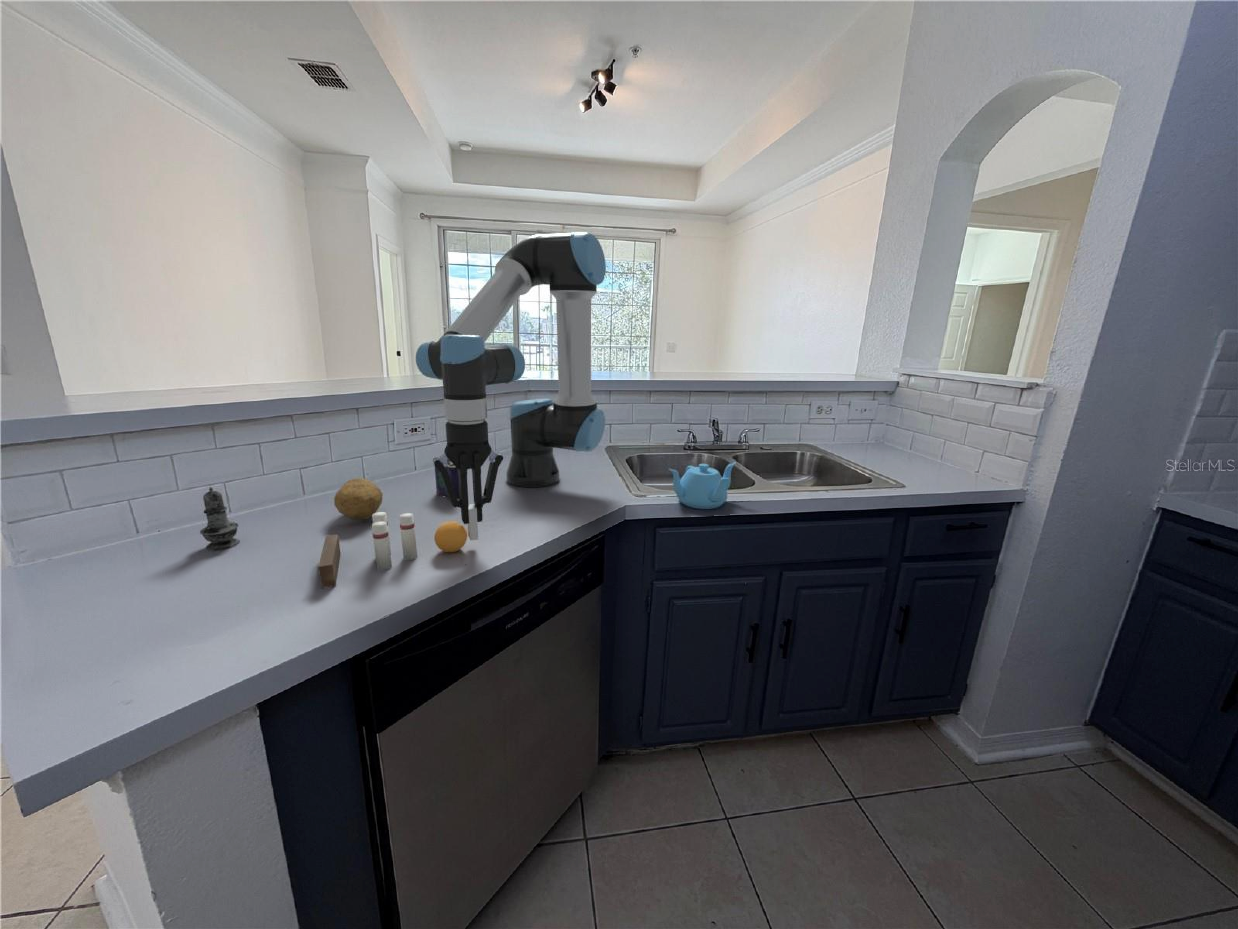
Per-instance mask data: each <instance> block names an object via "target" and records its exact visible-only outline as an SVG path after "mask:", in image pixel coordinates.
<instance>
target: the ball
mask: <svg viewBox="0 0 1238 929" xmlns="http://www.w3.org/2000/svg"><path fill="white" fill-rule="evenodd" d="M467 538H468V531H467V530H466V528H465V527H464V525H462V524H461V523H459V522H457V521H454V520H452V521H450V520H449V521H446V522H443V523H441V524H440V525H438V527H437V529H436V530H435V533H434V542H435V545H436V546H437V548H438V549H439V550H441V551H442V552H446V553H455V552H458V551H459V550H461V549H462V548H463V547H464V546H465V544H466V543H467Z"/></svg>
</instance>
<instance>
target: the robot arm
mask: <svg viewBox="0 0 1238 929" xmlns="http://www.w3.org/2000/svg"><path fill="white" fill-rule="evenodd" d="M606 265H607V264H606V258H605V254H604V250H603V247H602V245H601V243H600V241H599V239H598V238H597V237H596V236H595V235H594V234H592V233H591V232H584V231H583V232H582V231H572V232H560V233H559V232H558V233H538V234H535V235H534V234H533V235H530V236H528V237H526V238H524V239H522V240H521V241H520V242H518V243H516V244H515V245H514V246H513V247H511V248H509V250H508V251H507V252H505V254H504V255H502V257H500V259H499V260H498V261H497V263H496V264H495V267H494V273H493V275H492V276H491V277H490V278H489V279H488V281H486V283H485V284H484V285H483V286H482V287H481V289H480V290H479V291H478V292H477V293H476V295H475V296H474V297H473V298H472V300H471V301H470V302H469V304H467V306H466V307H465V308H464V309H463V310H462V312H461V313H460V314H459V315H458V316H457V317H456V319H455V320H454V322H453V323H451V325H450V326H449V327H448V329H447V330H446V331H445V332H444V334H442V336H441V337H440V338H439V339H438V340H437V341H434V340H433V341H429V342H428V341H427V342H424V343H422V344H420V345H419V346H418V348H417V349H416V350H417V351H416V353H415V364H416V366H417V369H418V371H419V372H420V373H421V375H423V376H424V377H426V378H431V379H435V380H439V381H440V380H441V381H442V388H443V389H442V390H443V404H444V418H445V419H446V423H445V436H446V437H445V438H446V446H445V448H444V452H443V453H442V454H441V455H440V456H438V457H434V458H433V459H432V463H433V465H435V466H436V468H437V469H438V470H439V471H440V473H441V475H442V478H443V481H444V484H445V487H446V490H447V493H448V496H449V498H450V499H449V502H450V503H451V505H452V507H454V508H460V513H461V515H460V516H461V517H460V518H461V521H462V523H463V525H467V537H468V538H469V540H470V541H477V540H479V529H478V527H479V525H478V523H480V522H483V519H484V518H483V516H484V515H483V507H484V505H486V504H489V503H492V500H493V496H494V490H495V485H496V480H497V475H498V470H499V467H500V466H501V463H503V460H504V456H503V455H502V454H501V453H500V452H496V451H494V450H492V446H491V445H490V442H489V428H488V426H489V425H488V422H487V421H486V419H487V418H488V406H487V386H490V385H491V386H492V385H500V384H510V383H512V382H516V381H518V380H519V379H521V378H522V376H523V374H524V372H525V370H526V360H525V356H524V354H523V353H522V351H521V350H519V348H518V347H516V346H514V345H507V344H498V345H497V344H496V345H495V344H485V343H486V341H487V340H488V338H489V337H490V336H491V335H492V333H493V332H494V330H495V329H496V328H497V327H498V326H499V324H500V322H502V321H503V319H504V317H505V316H506V315H507V313H508V312H509V311H510V310H511V308H512V307H513V306H514V304H515V303H516V301H517V300H518V299H519V298H520V296H523V295H526V294H527V293H529V292H530V290H531V289H532V288H533V287H536V286H541V285H542V286H543V285H546V286H549V293H550V294H551V295H552V296H553V297H554V299H555V300H556V303H555V304H556V306H555V307H556V308H555V310H556V336H557V338H556V339H557V340H556V342H557V347H556V348H557V373H558V374H557V376H558V378H557V379H558V380H557V381H558V395H557V396H556V397H555V399H551V398H536V399H535V398H534V399H528V400H527V399H526V400H520V401H516V402H514V403H512V404H511V406H510V415H509V420H510V437H511V438H510V439H511V440H510V442H511V457H510V459H509V463H508V467H507V470H506V473H505V474H506V476H505V477H506V482H507V483H508V484H509V485H511V486H515V487H520V488H521V487H522V488H541V487H547V486H551V485H554V484H557V483H558V482H559V481H560V470H559V466H558V463H557V461H556V458H555V454H554V449H560V450H561V449H562V450H569V451H575V452H592V451H594V450H595V449H596V448H597V447H598V446H599V444H600V442H601V441H602V438H603V435H604V432H605V428H606V415H605V412H604V411H603V410H602V409H601V408H598V401H597V399H596V398H595V397H594V396H593V395H592V338H591V337H592V335H591V334H592V330H591V329H592V328H591V327H592V325H591V320H592V316H591V314H592V312H591V310H592V309H591V308H592V307H591V306H592V305H591V303H592V302H591V301H592V298H593V297H595V295H596V294H597V292H598V290H597V289H598V287H597V286H599V285H600V284H602V283H603V282H604V281H605V276H606V272H607V271H606V270H607V269H606V268H607V266H606ZM447 459H449V460H450V461H451V463H453V464H454V465H455V466H456V467H457V468H458V474H459V491H460V499H457V497H456V494H455V491H454V488H453V485H452V482H451V479H450V476H449V473H448V471H447V469H446V467H447V466H448V463H447ZM487 459H488V461H489V465H488V470H487V475H486V479H485V484H484V488H482V467H483V465H484V463H486V460H487ZM435 466H434V467H435ZM468 470H471V476H472V490H473V491H472V492H473V494H472V495H473V503H472V504H471V503H470V504H469V488H468V485H469V484H468ZM483 489H484V490H483ZM482 491H483V492H482Z"/></svg>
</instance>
